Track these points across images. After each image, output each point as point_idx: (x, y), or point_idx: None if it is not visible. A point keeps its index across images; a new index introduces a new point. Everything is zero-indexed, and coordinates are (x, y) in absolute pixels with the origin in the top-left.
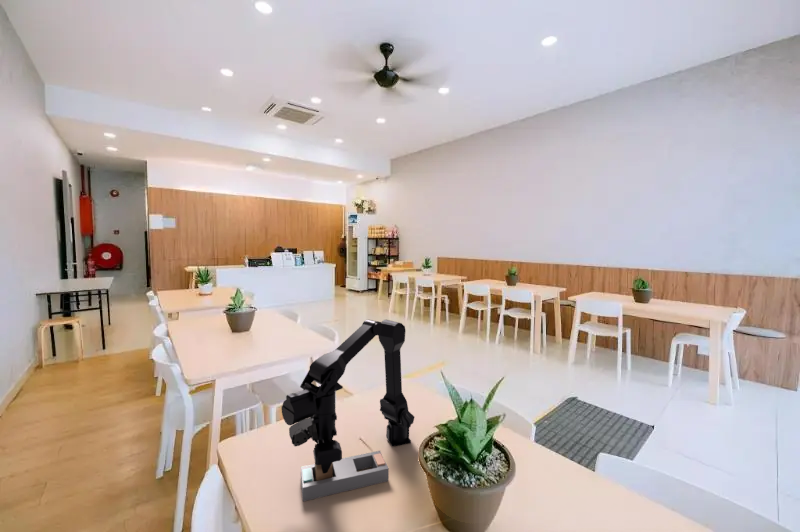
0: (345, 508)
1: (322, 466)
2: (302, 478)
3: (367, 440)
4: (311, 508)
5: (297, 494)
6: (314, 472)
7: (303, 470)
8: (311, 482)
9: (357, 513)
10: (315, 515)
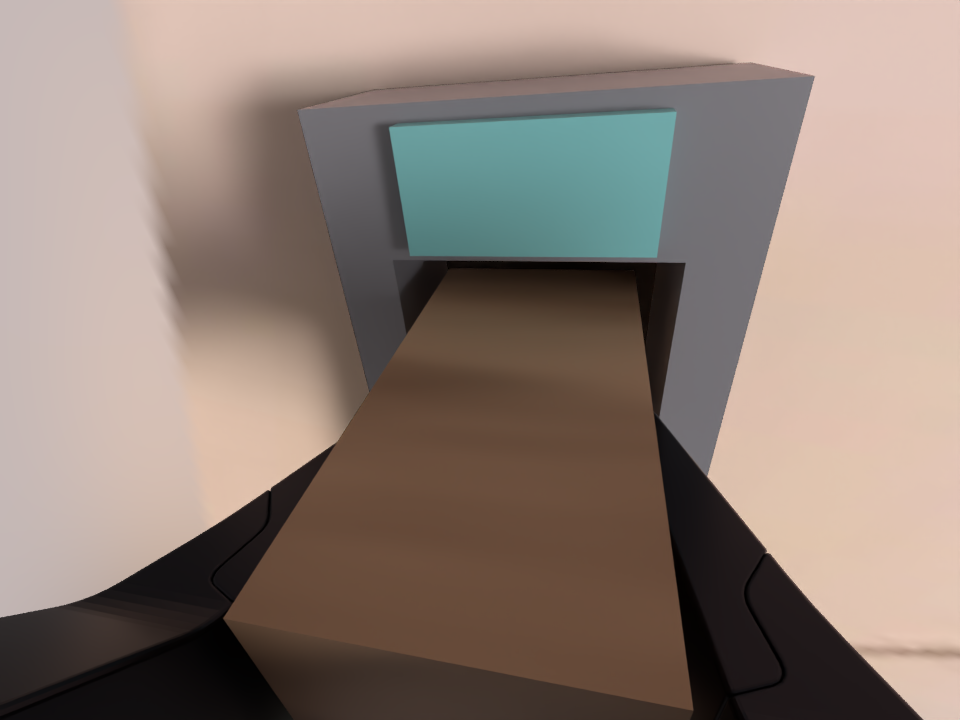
0: (298, 392)
1: (319, 467)
2: (483, 107)
3: (945, 671)
4: (302, 172)
5: (503, 20)
6: (671, 264)
7: (640, 131)
8: (383, 230)
9: (263, 434)
10: (235, 200)
